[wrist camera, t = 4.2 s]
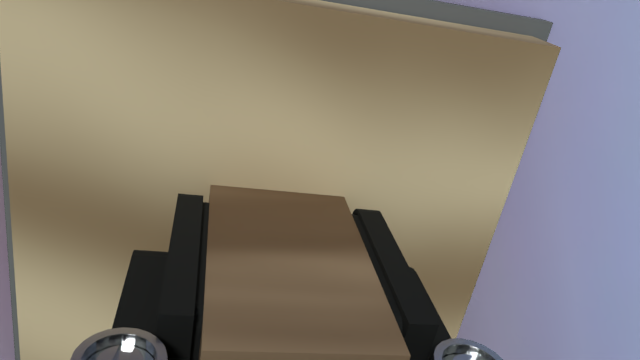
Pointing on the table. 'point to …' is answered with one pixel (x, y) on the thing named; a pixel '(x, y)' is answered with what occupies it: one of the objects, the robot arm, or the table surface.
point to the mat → (412, 3)
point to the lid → (256, 162)
